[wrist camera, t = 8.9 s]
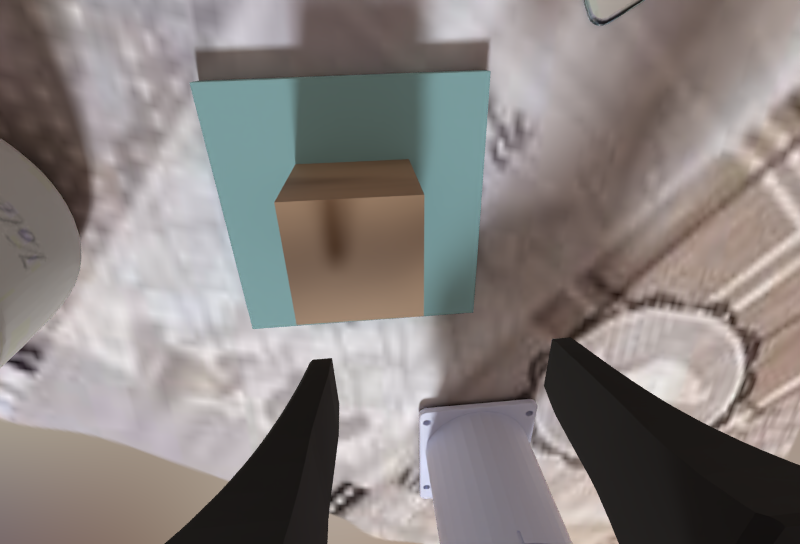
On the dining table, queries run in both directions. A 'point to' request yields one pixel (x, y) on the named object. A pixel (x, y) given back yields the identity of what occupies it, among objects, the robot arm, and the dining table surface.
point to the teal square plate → (348, 142)
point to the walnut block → (353, 240)
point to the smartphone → (608, 9)
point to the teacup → (32, 251)
